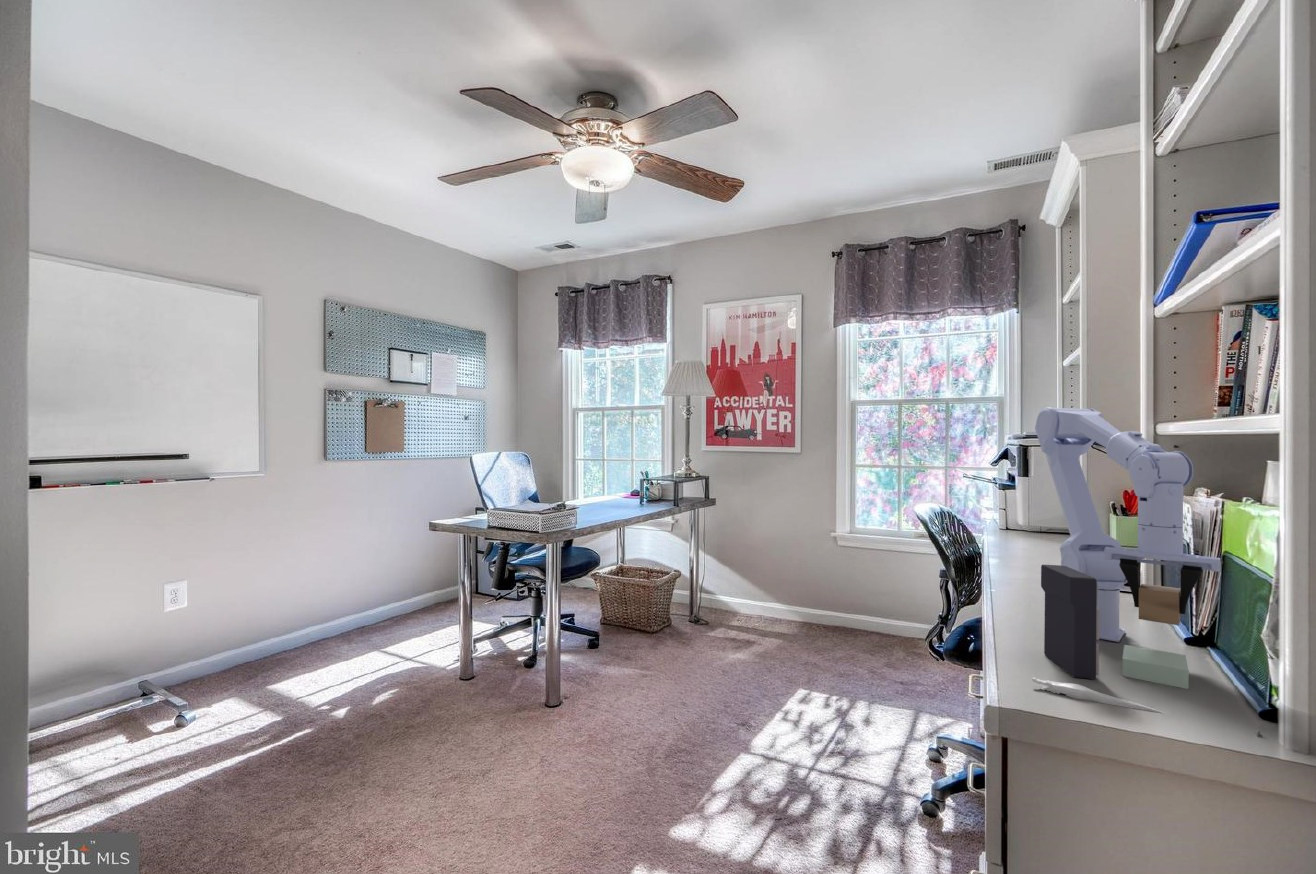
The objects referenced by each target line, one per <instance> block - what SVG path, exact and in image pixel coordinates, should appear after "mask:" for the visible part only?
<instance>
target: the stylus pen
mask: <svg viewBox="0 0 1316 874" xmlns="http://www.w3.org/2000/svg"><path fill="white" fill-rule="evenodd" d="M1031 681H1032V682H1033V683H1036V684H1038V685H1043V686H1042V687H1043V688H1041V689H1043V690H1042V691H1045V690H1047V691H1046V692H1049V691H1051V692H1050V693H1052V692H1053V694H1055V693H1057V695H1060V694H1064V695H1065V697H1067V696H1070V697H1069V698H1071V697H1073V698H1072V699H1076V698H1078V699H1077V700H1082V699H1084V700H1085V701H1091V700H1093V701H1092V702H1096V701H1097V702H1096V703H1100V704H1105V705H1106V704H1107V705H1113V706H1117V707H1124V708H1130V709H1135V710H1143V711H1147V712H1154V713H1160V714H1166V713H1165V712H1164V711H1161V710H1159V709H1156V708H1152V707H1149V706H1146V705H1144V704H1141V703H1137V702H1133V701H1129V700H1127V699H1123V698H1118V697H1115V696H1112V695H1109V694H1105V693H1102V692H1099V691H1096V690H1093V689H1091V688H1088V687H1087V686H1084V685H1082V684H1078V683H1073V682H1072V683H1070V682H1058V681H1053V680H1052V681H1051V680H1049V679H1047V680H1044V679H1043V680H1042V679H1038V678H1037V677H1032V678H1031ZM1084 700H1083V701H1084Z"/></svg>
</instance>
